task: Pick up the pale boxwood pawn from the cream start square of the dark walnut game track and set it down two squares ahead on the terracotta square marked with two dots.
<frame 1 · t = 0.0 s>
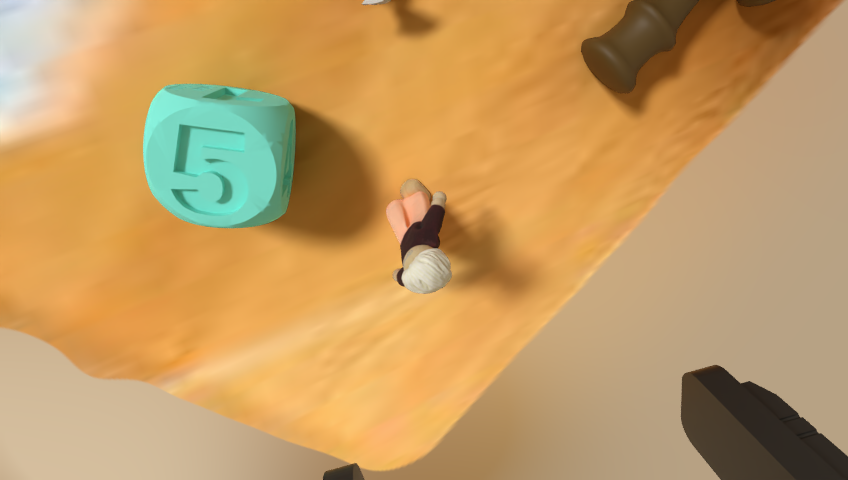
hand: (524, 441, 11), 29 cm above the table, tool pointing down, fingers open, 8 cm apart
decorative dice: (242, 140, 36), on the table
grandmother figurine: (407, 209, 40), on the table
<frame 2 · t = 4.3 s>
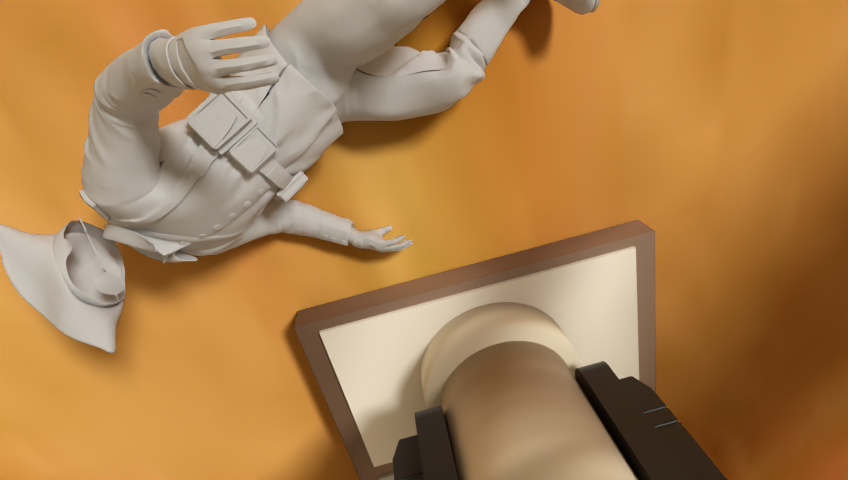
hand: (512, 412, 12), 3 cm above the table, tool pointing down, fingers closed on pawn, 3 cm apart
pawn: (494, 366, 13), point 1 cm above the table, touching game track, gripper
soldier figure: (329, 91, 11), on the table
game track: (513, 473, 17), on the table
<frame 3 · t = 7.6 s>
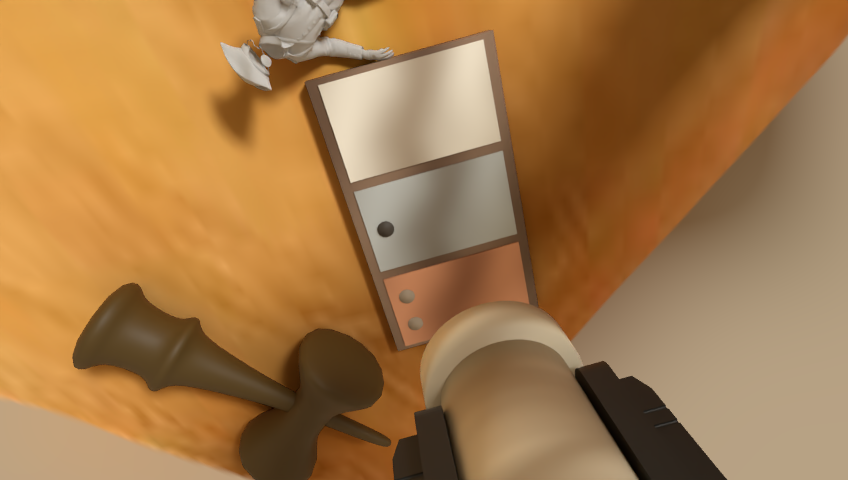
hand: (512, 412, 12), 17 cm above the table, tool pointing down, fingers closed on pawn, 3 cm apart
kendama: (266, 357, 32), on the table
pawn: (494, 364, 13), point 16 cm above the table, touching gripper
game track: (436, 208, 28), on the table
when the fingers open (4 cm above the table, at t = 10.9 s): pawn drops 1 cm, resting on game track.
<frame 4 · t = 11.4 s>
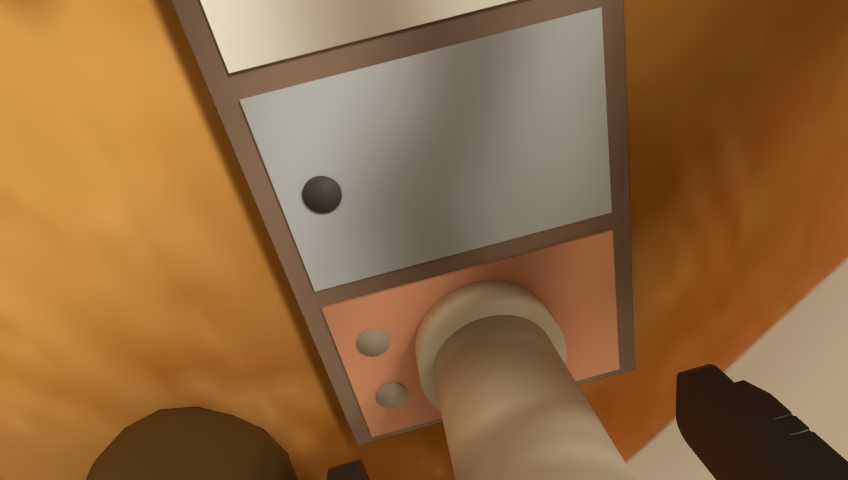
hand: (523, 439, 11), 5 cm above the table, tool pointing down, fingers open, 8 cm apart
kendama: (79, 462, 16), on the table
pawn: (483, 340, 14), point 1 cm above the table, touching game track
game track: (439, 153, 13), on the table
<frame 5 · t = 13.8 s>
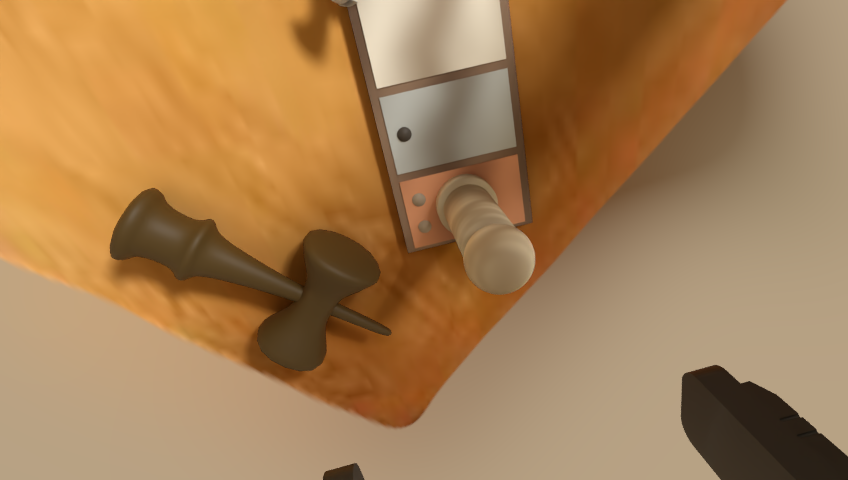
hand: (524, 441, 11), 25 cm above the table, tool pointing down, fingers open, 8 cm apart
kendama: (276, 262, 36), on the table
pawn: (464, 202, 34), point 1 cm above the table, touching game track
game track: (448, 120, 32), on the table
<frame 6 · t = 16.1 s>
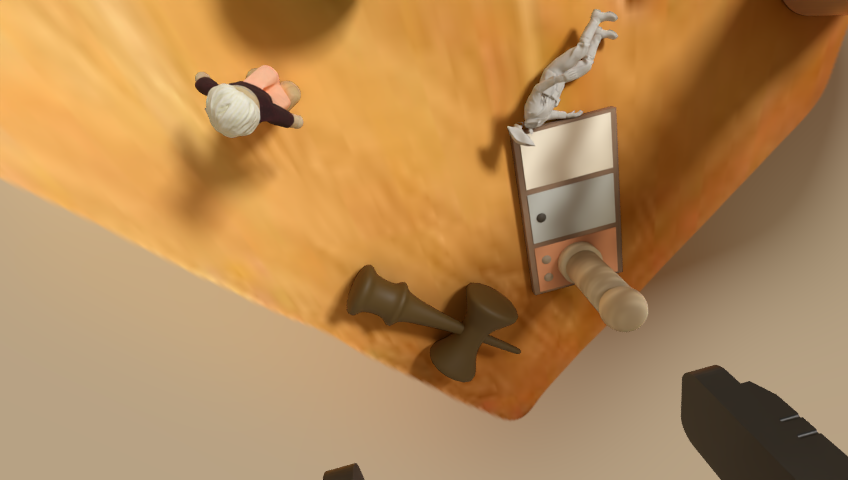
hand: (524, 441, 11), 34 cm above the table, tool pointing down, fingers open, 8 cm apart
kendama: (437, 305, 50), on the table
grandmother figurine: (266, 87, 39), on the table
pawn: (577, 260, 49), point 1 cm above the table, touching game track
soldier figure: (552, 78, 42), on the table
game track: (569, 206, 47), on the table
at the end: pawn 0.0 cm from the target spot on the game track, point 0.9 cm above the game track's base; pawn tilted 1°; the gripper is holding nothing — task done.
